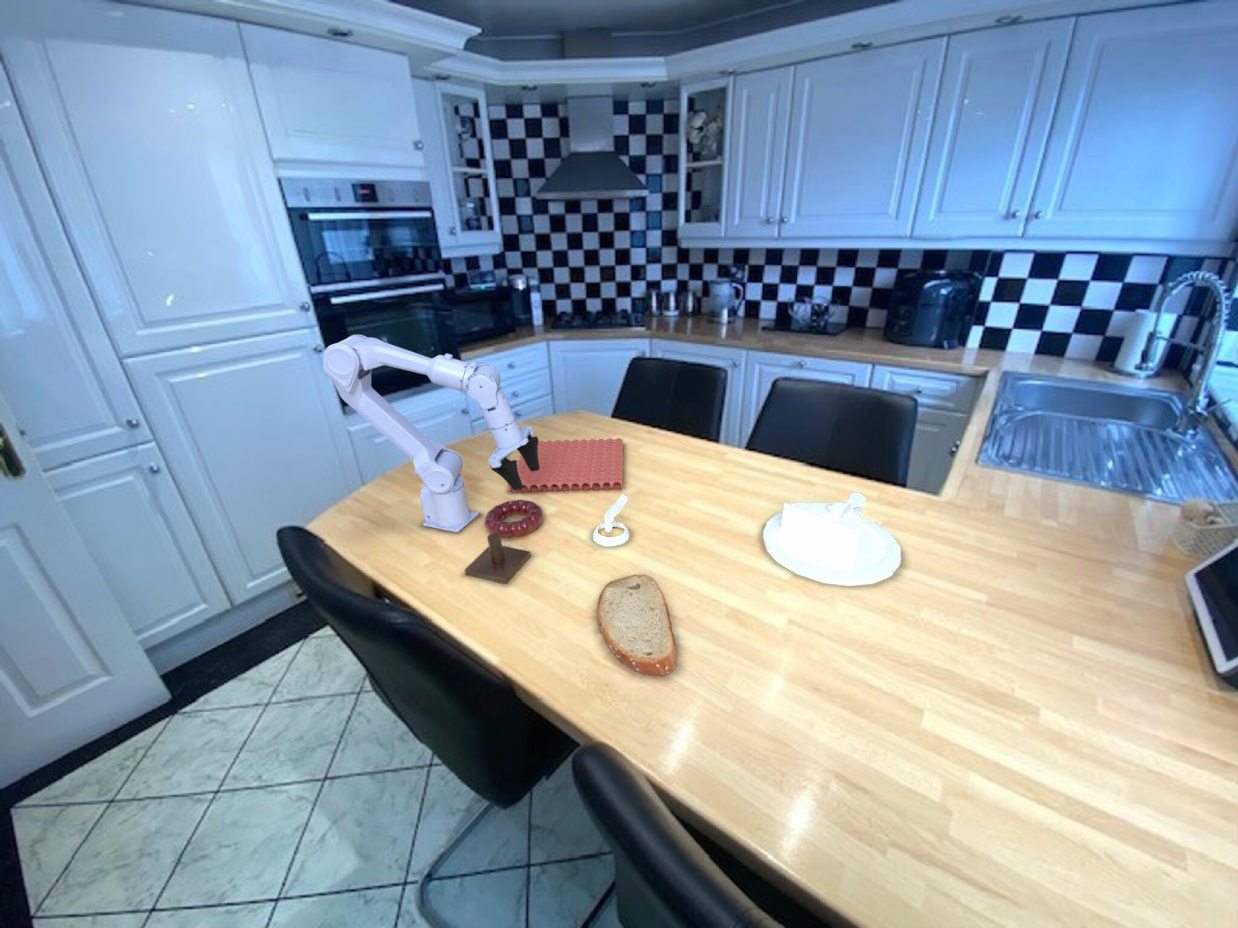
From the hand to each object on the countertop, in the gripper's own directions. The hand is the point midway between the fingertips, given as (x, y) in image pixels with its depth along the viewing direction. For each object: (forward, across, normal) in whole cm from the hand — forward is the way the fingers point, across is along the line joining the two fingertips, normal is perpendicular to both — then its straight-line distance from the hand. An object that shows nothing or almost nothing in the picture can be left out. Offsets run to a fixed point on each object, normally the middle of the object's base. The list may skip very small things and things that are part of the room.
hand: (526, 479), depth 110 cm
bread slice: (+15, -25, -31) cm, 43 cm away
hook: (+14, -3, -17) cm, 22 cm away
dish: (+25, +6, -58) cm, 63 cm away
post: (+8, -19, -1) cm, 21 cm away
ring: (+7, -5, +4) cm, 9 cm away
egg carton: (+11, +25, +6) cm, 28 cm away
